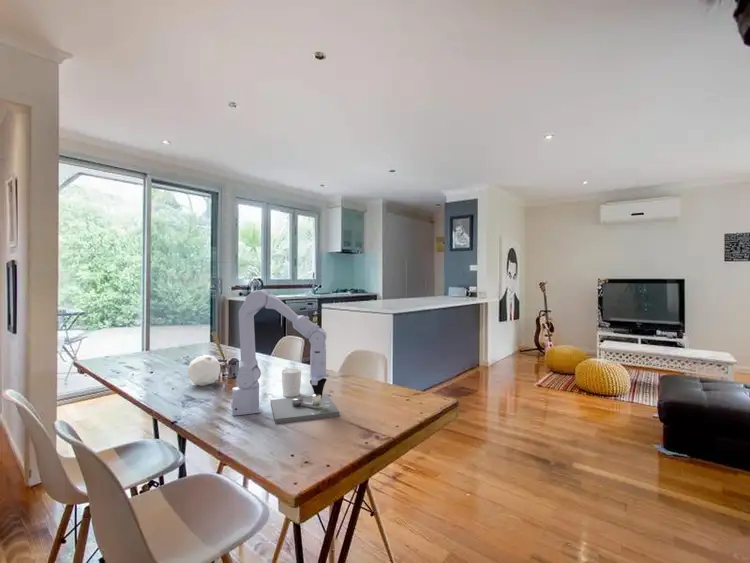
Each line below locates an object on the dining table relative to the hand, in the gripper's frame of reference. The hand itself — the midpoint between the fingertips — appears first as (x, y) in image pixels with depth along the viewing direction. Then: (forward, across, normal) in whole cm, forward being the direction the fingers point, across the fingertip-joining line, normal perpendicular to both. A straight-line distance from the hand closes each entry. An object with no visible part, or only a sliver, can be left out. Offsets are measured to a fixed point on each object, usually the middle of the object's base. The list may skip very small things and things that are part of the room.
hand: (318, 399), depth 137 cm
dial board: (+4, 0, +6) cm, 7 cm away
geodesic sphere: (+4, +28, +57) cm, 63 cm away
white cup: (+4, +17, +15) cm, 23 cm away
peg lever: (+2, -1, +3) cm, 4 cm away
